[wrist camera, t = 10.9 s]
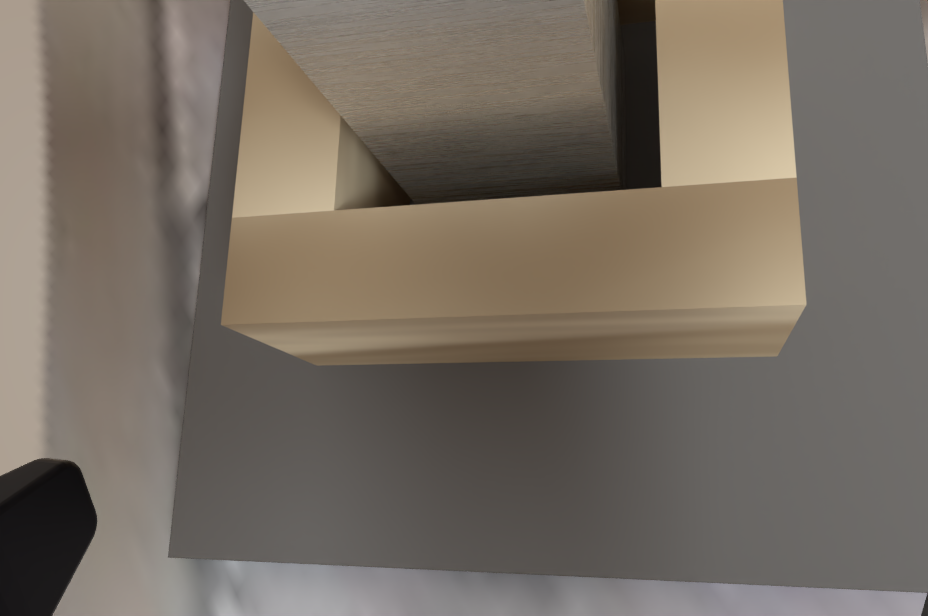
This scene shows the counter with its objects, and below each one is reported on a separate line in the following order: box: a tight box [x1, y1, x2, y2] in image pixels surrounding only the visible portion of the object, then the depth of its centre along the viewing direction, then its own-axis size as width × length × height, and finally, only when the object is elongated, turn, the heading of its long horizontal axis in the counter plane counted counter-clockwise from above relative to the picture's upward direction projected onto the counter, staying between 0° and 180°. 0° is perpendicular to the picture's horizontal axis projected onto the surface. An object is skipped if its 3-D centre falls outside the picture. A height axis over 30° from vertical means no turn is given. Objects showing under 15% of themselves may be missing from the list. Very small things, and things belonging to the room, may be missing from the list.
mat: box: [168, 0, 928, 593], centre depth 18 cm, size 18×16×1 cm
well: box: [221, 0, 807, 366], centre depth 16 cm, size 10×10×4 cm
